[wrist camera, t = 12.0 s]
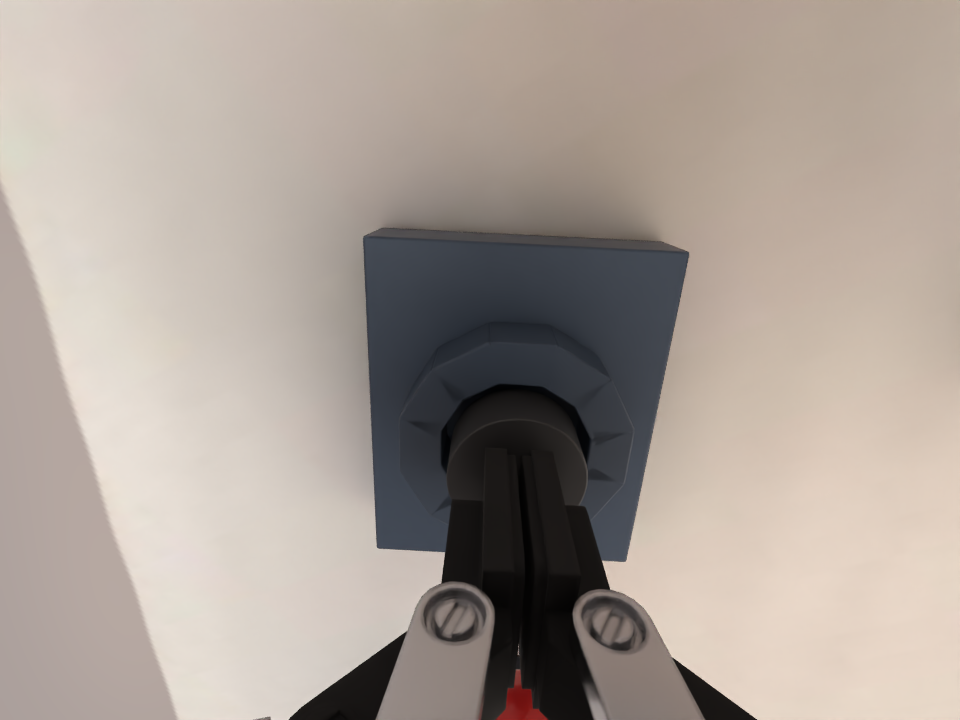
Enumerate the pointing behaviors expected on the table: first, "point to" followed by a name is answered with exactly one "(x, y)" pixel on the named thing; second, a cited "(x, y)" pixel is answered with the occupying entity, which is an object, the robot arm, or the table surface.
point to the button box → (513, 360)
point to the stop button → (514, 441)
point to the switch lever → (520, 703)
